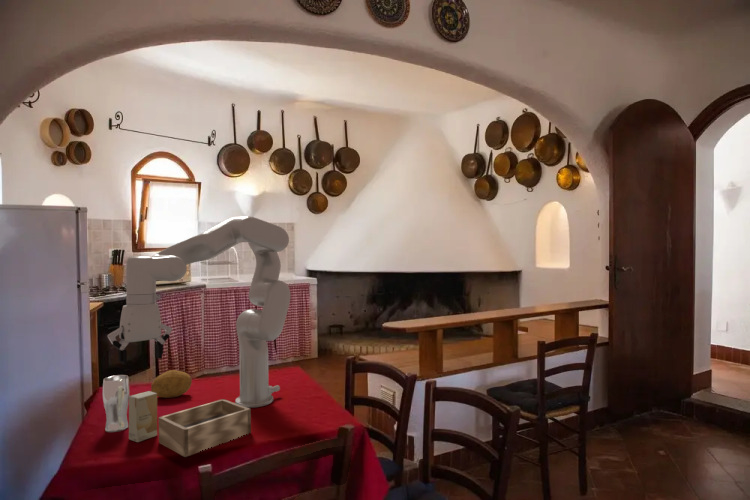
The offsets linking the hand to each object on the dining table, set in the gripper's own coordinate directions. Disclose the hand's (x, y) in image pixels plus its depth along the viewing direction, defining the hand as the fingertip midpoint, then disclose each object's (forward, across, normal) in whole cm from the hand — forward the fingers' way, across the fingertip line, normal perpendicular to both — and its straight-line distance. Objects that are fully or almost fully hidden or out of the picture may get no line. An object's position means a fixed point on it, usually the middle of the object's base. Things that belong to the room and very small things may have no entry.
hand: (141, 360), depth 138 cm
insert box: (+21, -12, +15) cm, 28 cm away
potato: (+21, -22, -29) cm, 42 cm away
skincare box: (+22, 0, +1) cm, 22 cm away
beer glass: (+22, +2, -12) cm, 25 cm away
